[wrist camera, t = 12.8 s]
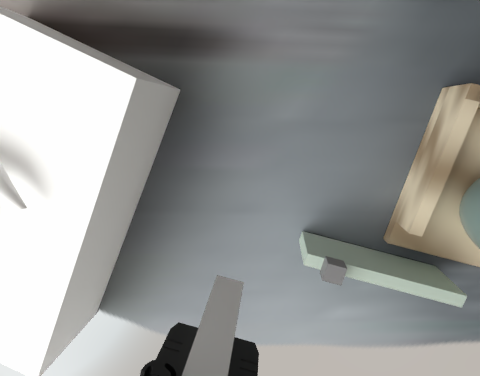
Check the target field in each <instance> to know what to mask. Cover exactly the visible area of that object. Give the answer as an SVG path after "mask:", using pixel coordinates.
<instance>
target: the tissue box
mask: <svg viewBox="0 0 480 376" xmlns="http://www.w3.org/2000/svg"><path fill="white" fill-rule="evenodd" d="M179 93H180V89H178V88H176V87H174V86H172V85H170V84H168V83H165V82H163V81H161V80H159V79H157V78H155V77H153V76H151V75H149V74H146V73H144V72H142V71H140V70H138V69H136V68H134V67H132V66H130V65H128V64H125V63H123V62H121V61H119V60H117V59H115V58H113V57H111V56H109V55H106V54H104V53H102V52H100V51H98V50H96V49H94V48H92V47H90V46H87V45H85V44H83V43H81V42H79V41H77V40H75V39H73V38H71V37H68V36H66V35H64V34H62V33H60V32H58V31H56V30H54V29H52V28H49V27H47V26H45V25H43V24H41V23H39V22H37V21H35V20H33V19H31V18H28V17H26V16H24V15H21V14H18V13H16V12H13V11H11V10H8V9H6V8H3V7H1V6H0V363H2V364H3V365H6V366H8V367H10V368H12V369H14V370H16V371H18V372H20V373H22V374H24V375H27V376H41V375H42V374H43V373H44V372H45V370H46V369H47V368H48V367H49V366H50V365H51V364H52V363H53V361H54V360H55V359H56V358H57V357H58V356H59V355H60V354H61V353H62V351H63V350H64V349H65V348H66V347H67V346H68V345H69V344H70V343H71V341H72V340H73V339H74V338H75V337H76V336H77V335H78V333H79V332H80V331H81V330H82V329H83V328H84V327H85V326H86V325H87V323H88V322H89V321H90V320H91V319H92V318H93V317H94V315H96V313H97V312H98V311H99V309H98V308H99V306H100V303H101V300H102V298H103V295H104V292H105V290H106V287H107V284H108V282H109V279H110V276H111V274H112V271H113V269H114V266H115V263H116V261H117V258H118V255H119V253H120V250H121V247H122V245H123V242H124V239H125V237H126V234H127V231H128V229H129V226H130V223H131V221H132V218H133V215H134V213H135V210H136V207H137V205H138V202H139V199H140V197H141V194H142V191H143V189H144V186H145V183H146V181H147V178H148V175H149V173H150V170H151V167H152V165H153V162H154V159H155V157H156V154H157V152H158V149H159V146H160V144H161V141H162V138H163V136H164V133H165V130H166V128H167V125H168V122H169V120H170V117H171V114H172V112H173V109H174V106H175V104H176V101H177V98H178V96H179Z"/></svg>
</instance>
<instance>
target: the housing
mask: <svg viewBox="0 0 480 376" xmlns="http://www.w3.org/2000/svg"><path fill="white" fill-rule="evenodd" d="M479 177H480V85H477V84H473V83H470V84H463V85H457V86H451V87H444V88H442V90H441V93H440V95H439V98H438V100H437V103H436V106H435V108H434V111H433V113H432V116H431V118H430V121H429V123H428V126H427V128H426V131H425V133H424V136H423V139H422V141H421V144H420V146H419V149H418V151H417V154H416V156H415V159H414V161H413V164H412V166H411V169H410V171H409V174H408V177H407V179H406V182H405V184H404V187H403V189H402V192H401V194H400V197H399V199H398V202H397V204H396V207H395V210H394V212H393V215H392V217H391V220H390V222H389V225H388V227H387V230H386V232H385V235H384V237H383V239H384V240H385V241H386V242H387V243H389V244H393V245H397V246H400V247H404V248H408V249H412V250H416V251H420V252H423V253H427V254H431V255H435V256H439V257H443V258H447V259H450V260H454V261H458V262H462V263H466V264H470V265H473V266H477V267H480V249H479V248H478V247H477V246H476V245H475V244H474V243H473V242H472V241H471V240H470V238H469V237H468V235H467V234H466V232H465V231H464V229H463V226H462V224H461V222H460V217H459V204H460V201H461V198H462V196H463V194H464V193H465V191H466V190H467V189H468V187H469V186H470V185H471V184H472V183H473V182H474V181H475V180H477V179H478V178H479Z"/></svg>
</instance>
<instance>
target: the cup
mask: <svg viewBox="0 0 480 376" xmlns="http://www.w3.org/2000/svg"><path fill="white" fill-rule="evenodd" d="M459 217H460V222H461V224H462V226H463V229H464V231H465V232H466V234H467V235H468V237H469V238H470V240H471V241H472V242H473V243H474V244H475V245H476V246H477V247H478V248H479V249H480V177H479V178H478V179H477V180H475V181H474V182H473V183H472V184H471V185H470V186H469V187H468V189H467V190H466V191H465V193H464V194H463V196H462V198H461V201H460V204H459Z"/></svg>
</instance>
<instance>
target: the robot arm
mask: <svg viewBox="0 0 480 376" xmlns="http://www.w3.org/2000/svg"><path fill="white" fill-rule="evenodd" d="M243 284H244V282H241V281H237V280H233V279H230V278H226V277H222V276H218V275H217V277H216V280H215V283H214V285H213V288H212V291H211V294H210V297H209V300H208V302H207V305H206V308H205V311H204V314H203V317H202V320H201V322H200V325H199V328H196V327H193V326H189V325H186V324H182V323H177V324H176V325H175V326H174V327H173V328H171V329H170V331H169V333H168V335H167V337H166V340H165V342H164V344H163V346H162V348H161V350H160V352H159V354H158V356H157V358H156V360H152V361H151V362H149V363H147V364H146V365H145V366H144V367H143V369H142V370H141V375H140V376H257V375H258V374H257V373H258V356H259V353H258V350H257V348H256V345H255V343H253V342H249V341H246V340H242V339H239V338H235V337H234V336H235V330H236V325H237V319H238V313H239V307H240V301H241V296H242V290H243Z"/></svg>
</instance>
